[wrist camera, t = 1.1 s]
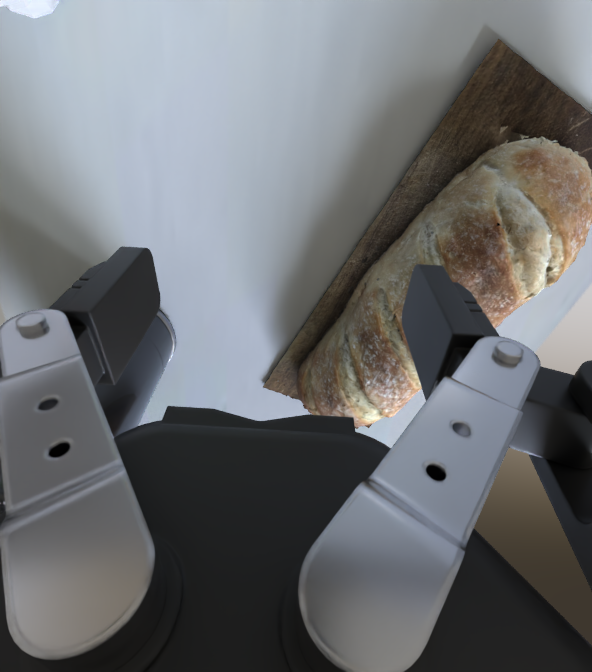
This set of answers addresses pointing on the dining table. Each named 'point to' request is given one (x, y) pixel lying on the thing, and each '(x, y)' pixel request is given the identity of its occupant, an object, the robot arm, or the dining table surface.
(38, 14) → the rocket model
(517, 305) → the bread loaf
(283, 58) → the dining table surface
